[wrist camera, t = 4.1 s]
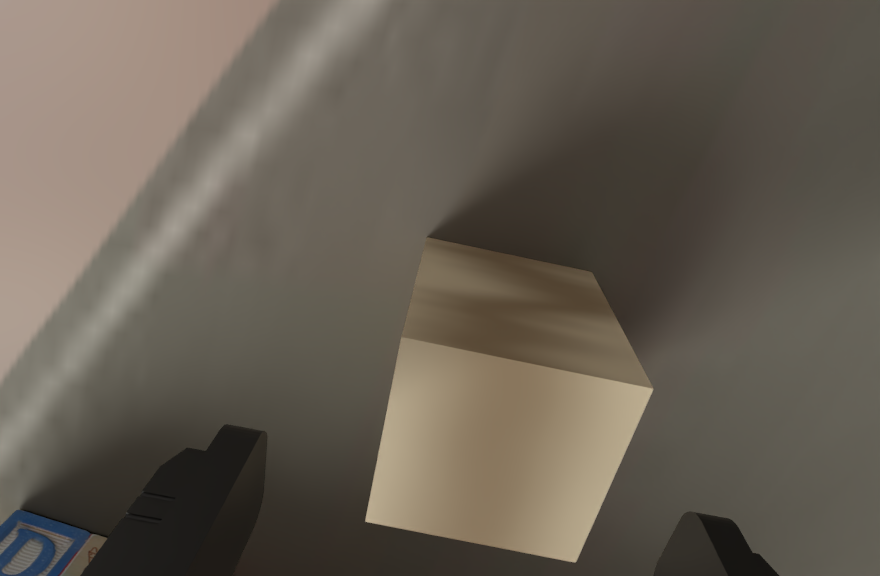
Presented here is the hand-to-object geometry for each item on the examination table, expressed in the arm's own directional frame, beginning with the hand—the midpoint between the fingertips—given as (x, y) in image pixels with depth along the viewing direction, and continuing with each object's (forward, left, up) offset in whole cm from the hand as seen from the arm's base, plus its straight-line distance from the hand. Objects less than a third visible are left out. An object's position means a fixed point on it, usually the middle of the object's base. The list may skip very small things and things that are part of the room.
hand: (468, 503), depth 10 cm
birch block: (-1, 0, -7) cm, 7 cm away
